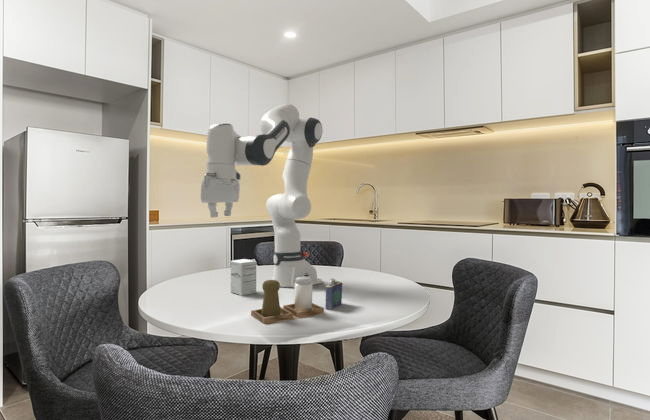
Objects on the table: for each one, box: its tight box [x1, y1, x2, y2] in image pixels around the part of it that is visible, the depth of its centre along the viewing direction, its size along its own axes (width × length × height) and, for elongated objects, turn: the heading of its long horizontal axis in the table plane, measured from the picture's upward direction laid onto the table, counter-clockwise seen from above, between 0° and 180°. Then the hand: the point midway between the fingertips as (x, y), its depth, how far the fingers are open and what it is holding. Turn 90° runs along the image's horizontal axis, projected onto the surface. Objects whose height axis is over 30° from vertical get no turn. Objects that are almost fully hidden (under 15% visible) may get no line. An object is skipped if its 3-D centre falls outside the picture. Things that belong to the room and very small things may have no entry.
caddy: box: [250, 302, 326, 325], centre depth 124 cm, size 20×11×3 cm, turn 123°
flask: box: [324, 277, 343, 311], centre depth 133 cm, size 9×3×11 cm, turn 151°
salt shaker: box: [294, 276, 313, 312], centre depth 126 cm, size 6×6×11 cm
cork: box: [261, 279, 281, 317], centre depth 121 cm, size 6×6×11 cm
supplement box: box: [230, 258, 257, 296], centre depth 157 cm, size 7×7×13 cm
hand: (221, 216), depth 130 cm, fingers open, 8 cm apart
